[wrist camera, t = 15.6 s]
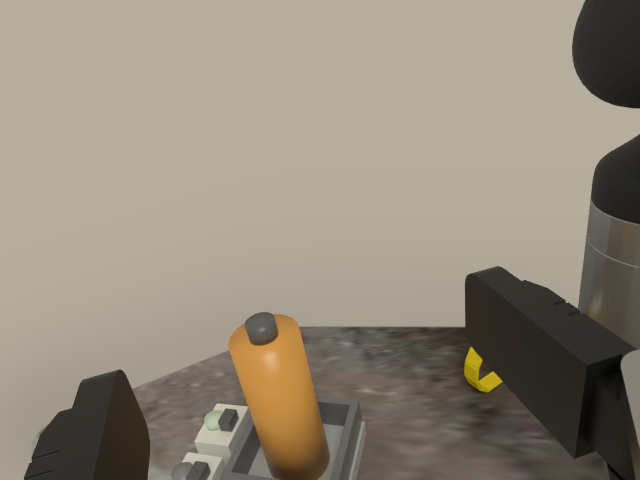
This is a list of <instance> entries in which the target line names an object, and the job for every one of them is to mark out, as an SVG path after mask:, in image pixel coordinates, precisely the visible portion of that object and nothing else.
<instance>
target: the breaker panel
mask: <svg viewBox="0 0 640 480" xmlns="http://www.w3.org/2000/svg"><path fill="white" fill-rule="evenodd" d="M316 399H317V403H318V407H319V411H320V415H321V419H322V423H323V427H324V431H325V435H326V440H327V444H328V448H329V452H330V460H329V464H328V467H327V469H326V470H325V472H324V473H323V474H322V476H321V477H320V478H319V479H317V480H357V476H358V471H359V466H360V462H361V457H362V452H363V448H364V443H365V438H366V429H365V422H364V421H362V420H361V413H360V406H359V400H354V399H343V398H332V397H322V396H316ZM204 422H205V423H204V425H203V427H202V428H201V430H200V432H199V433H198V436H197V438H196V440H195V441H194V442H195V445H196V448H197V450H198V454H196V453H189V452H188V453H187V455H186V456H185V458H184V460H183V461H182V463H180V464H178V465H177V466H176V467H175V468H174V469H173V471H172V474H171V477H172V480H280V479H274V478H273V477H272V476H271V473H270V470H269V467H268V464H267V461H266V458H265V455H264V452H263V449H262V446H261V443H260V440H259V437H258V434H257V431H256V428H255V425H254V422H253V419H252V416H251V413H250V410H249V407H246V406H237V405H227V404H216V406H215V408H214V409H213V411H211V412H209V413H208V414H207V415H206V416H205V419H204Z"/></svg>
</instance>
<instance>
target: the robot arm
mask: <svg viewBox="0 0 640 480" xmlns="http://www.w3.org/2000/svg"><path fill="white" fill-rule="evenodd" d="M572 55H573V62H574V67H575V70H576V73H577V75H578V76H579V78H580V80H581V82H582V83H583V85H584V86H585V87H586V88H587V89H588V90H589V91H590V92H591V93H592V94H594V95H595V96H596V97H598V98H599V99H601V100H603V101H605V102H608V103H610V104H613V105H617V106H622V107H628V108H640V0H585V2H584V5H583V7H582V10H581V12H580V15H579V17H578V20H577V23H576V26H575V31H574V36H573V44H572ZM465 314H466V315H465V317H466V318H465V323H466V324H465V326H466V333H467V337H468V339H469V342H470V344H471V346H472V348H473V349H474V351H475V352H476V353H477V354H478V355H479V356H480V357H481V359H482V360H483V361H484V362H485V363H486V364H487V365H488V366H489V367H490V368H491V369H492V370H493V371H494V373H495V374H496V375H497V376H498V377H499V378H500V379H501V380H502V381H503V382H504V383H505V384H506V386H507V387H508V388H509V389H510V390H511V391H512V392H513V393H514V394H515V395H516V396H517V397H518V398H519V400H520V401H521V402H522V403H523V404H524V405H525V406H526V407H527V408H528V409H529V410H530V411H531V413H532V414H533V415H534V416H535V417H536V418H537V419H538V420H539V421H540V422H541V423H542V424H543V425H544V427H545V428H546V429H547V430H548V431H549V432H550V433H551V434H552V435H553V436H554V437H555V438H556V440H557V441H558V442H559V443H560V444H561V445H562V446H563V447H564V448H565V449H566V450H567V451H568V452H569V454H570V455H571V456H572V457H573V458H574V459H575V458H578V457H581V456H584V455H586V454H589V453H592V452H594V451H596V452H597V453H598V454H599V455H600V456H601V457H602V458H603V459H604V462H603V478H604V480H640V134H639V135H638V136H636V137H635V138H633V139H632V140H630V141H628V142H627V143H625V144H623V145H622V146H620V147H618V148H616V149H615V150H613V151H611V152H610V153H608V154H607V155H606V156H604V157H603V158H602V159H601V160H600V161H599V163H598V164H597V166H596V169H595V172H594V176H593V184H592V192H591V200H590V209H589V218H588V226H587V235H586V244H585V253H584V261H583V270H582V278H581V287H580V295H579V304H578V309H577V308H576V307H574V306H573V305H571V304H570V303H566V302H565V300H564V299H563V298H561V297H560V296H558V295H557V294H555V293H554V292H552V291H551V290H549V289H548V288H545V287H543V286H540V285H537V284H534V283H531V282H529V281H526V280H524V281H520V280H519V279H518V278H516V277H515V276H513V275H512V274H511V273H509V272H508V271H506V270H505V269H503V268H502V267H499V266H497V267H493V268H489V269H486V270H482V271H479V272H475V273H471V274H469V275H467V277H466V281H465ZM149 457H150V439H149V433H148V428H147V424H146V421H145V419H144V417H143V414H142V412H141V410H140V407H139V405H138V402H137V400H136V398H135V395H134V393H133V391H132V388H131V386H130V384H129V381H128V379H127V377H126V375H125V373H124V372H123V371H122V370H116V371H113V372H109V373H105V374H102V375H98V376H95V377H91V378H88V379H84V380H82V381H81V383H80V385H79V388H78V392H77V395H76V398H75V401H74V404H73V407H72V408H71V409H68V410H64V411H61V412H59V413H58V414H57V415H56V416H55V417H54V419H53V420H52V421H51V422H50V424H49V425H48V426H47V427H46V429H45V430H44V431H43V432H42V434H41V435H40V437H39V440H38V442H37V445H36V448H35V450H34V453H33V456H32V463H29V466H28V469H27V471H26V474H25V476H24V480H147V478H148V467H149Z"/></svg>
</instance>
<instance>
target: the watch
mask: <svg viewBox="0 0 640 480" xmlns="http://www.w3.org/2000/svg"><path fill="white" fill-rule="evenodd" d="M465 361H466V362H465V369H464V374H465V377H466V379H467V381H468V383H469V384H471V385H472V386H474V387H475V388H477V389H478V390H479V391H482V392H487V393H488V392H489V391H491V390H492V389H494V388H495V387H496V386H498V385H499V384H501V383H502V382H503V381H502V380H501V379H500V378H499V377H498V376H497V375H496V374H495V373H494V371H493V372H491V373H490V374H488V375H487V376H485V377H484V378H482V379H481V380H480V381H479V380H478V378H479V368H480V366H481V363H482V361H483V360H482V359H481V357H480V356H479V355H478V354H477V353H476V352H475V351H474V349H473V348H472V346H471V348H470V350H469V352H468V355H467V357H466V360H465Z"/></svg>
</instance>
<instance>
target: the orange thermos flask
mask: <svg viewBox="0 0 640 480" xmlns="http://www.w3.org/2000/svg"><path fill="white" fill-rule="evenodd" d="M229 350H230V353H231V356H232V359H233V362H234V365H235V368H236V371H237V374H238V377H239V380H240V383H241V386H242V389H243V392H244V395H245V398H246V401H247V404H248V407H249V410H250V413H251V416H252V419H253V422H254V425H255V428H256V431H257V434H258V437H259V440H260V443H261V446H262V449H263V452H264V455H265V458H266V461H267V464H268V467H269V470H270V473H271V476H272V477H273V478H274V479H280V480H317V479H319V478H320V477H321V476H322V474H323V473H324V472H325V470H326V469H327V467H328V464H329V460H330V452H329V448H328V444H327V440H326V435H325V431H324V427H323V423H322V419H321V415H320V411H319V407H318V403H317V399H316V395H315V391H314V386H313V382H312V378H311V374H310V370H309V366H308V362H307V358H306V354H305V350H304V346H303V342H302V338H301V333H300V329H299V326H298V324H297V322H296V321H295V320H294V319H292V318H290V317H288V316H285V315H273V314H271V313H268V312H262V313H258V314H255V315H253V316H251V317H250V318H249V319H247V320H246V322H245V324H243V325H242V326H240V327H239V328H238V329H237V330H236V331H235V332H234V333H233V334H232V336H231V338H230V340H229Z"/></svg>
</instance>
